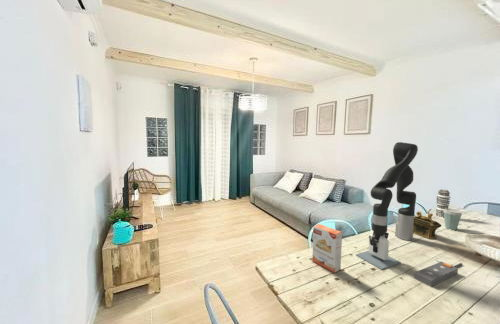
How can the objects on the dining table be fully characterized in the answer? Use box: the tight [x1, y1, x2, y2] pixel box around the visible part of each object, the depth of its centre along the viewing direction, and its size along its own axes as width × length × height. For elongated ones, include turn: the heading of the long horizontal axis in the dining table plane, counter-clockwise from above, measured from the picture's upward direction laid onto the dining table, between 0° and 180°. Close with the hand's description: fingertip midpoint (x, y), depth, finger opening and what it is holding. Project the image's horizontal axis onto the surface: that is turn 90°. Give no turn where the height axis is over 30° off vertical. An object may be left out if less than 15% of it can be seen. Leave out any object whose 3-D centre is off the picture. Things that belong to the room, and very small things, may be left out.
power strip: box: [413, 261, 463, 288], centre depth 110 cm, size 7×37×4 cm, turn 114°
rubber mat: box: [355, 250, 402, 271], centre depth 123 cm, size 16×16×1 cm
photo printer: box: [368, 233, 390, 260], centre depth 123 cm, size 10×4×12 cm, turn 26°
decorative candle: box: [435, 189, 451, 218], centre depth 191 cm, size 9×9×25 cm
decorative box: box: [413, 208, 442, 240], centre depth 157 cm, size 20×10×20 cm, turn 19°
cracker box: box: [312, 223, 343, 274], centre depth 116 cm, size 14×6×21 cm, turn 37°
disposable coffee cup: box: [443, 208, 463, 231], centre depth 166 cm, size 11×11×15 cm
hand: (378, 251), depth 123 cm, fingers closed on photo printer, 4 cm apart
